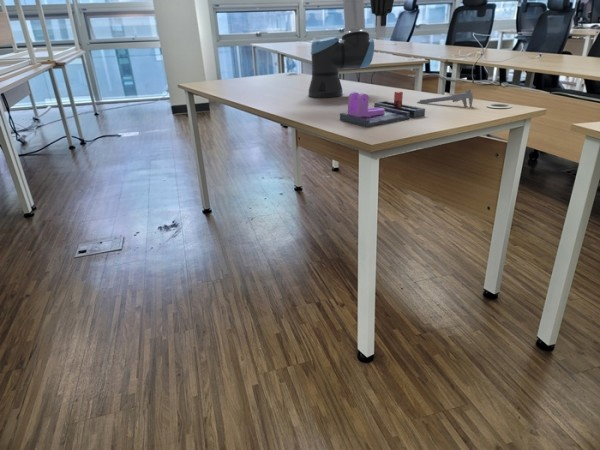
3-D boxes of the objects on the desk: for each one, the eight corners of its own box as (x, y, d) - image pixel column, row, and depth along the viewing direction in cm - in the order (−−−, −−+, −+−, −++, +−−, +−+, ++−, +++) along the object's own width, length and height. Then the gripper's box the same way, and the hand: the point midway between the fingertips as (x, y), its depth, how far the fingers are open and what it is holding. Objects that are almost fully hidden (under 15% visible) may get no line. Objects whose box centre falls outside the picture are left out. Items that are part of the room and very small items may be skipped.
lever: (391, 109, 149) (392, 92, 146) (397, 108, 150) (398, 91, 148) (412, 114, 141) (413, 95, 139) (418, 112, 143) (419, 94, 140)
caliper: (471, 107, 153) (474, 89, 150) (470, 107, 152) (473, 89, 149) (417, 103, 164) (419, 86, 161) (416, 103, 163) (417, 86, 160)
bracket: (358, 116, 135) (360, 94, 132) (347, 114, 139) (348, 92, 136) (387, 113, 141) (390, 92, 139) (376, 111, 146) (378, 90, 143)
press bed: (339, 120, 142) (339, 113, 141) (380, 112, 150) (381, 106, 149) (366, 127, 131) (366, 120, 130) (409, 118, 139) (409, 112, 138)
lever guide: (374, 109, 155) (374, 102, 154) (384, 107, 157) (384, 100, 156) (413, 118, 140) (414, 110, 139) (424, 115, 142) (425, 108, 141)
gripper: (361, -41, 139) (360, 37, 150) (388, -47, 129) (384, 37, 140) (379, -41, 143) (376, 35, 153) (406, -46, 133) (401, 36, 143)
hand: (380, 36), depth 146 cm, fingers closed
